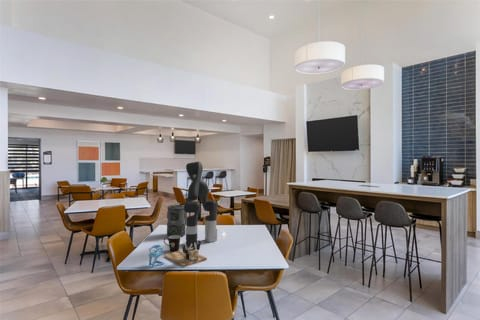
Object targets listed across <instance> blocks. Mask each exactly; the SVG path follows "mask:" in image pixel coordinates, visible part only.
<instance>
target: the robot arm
mask: <svg viewBox="0 0 480 320" xmlns="http://www.w3.org/2000/svg"><path fill="white" fill-rule="evenodd" d="M185 170H186V172H187V175H188V176H189V178H190V180H191V183H190V184H189V186H188V189H187V196H186V197H187V198H186V200H185V202H184V205H183V206H184V211H185V212H186V213H187V214H188V213H190V214H193V215H189V216H187V217H186V218H185V224H186V228H185V243H182V244H181V248H182V249H181V250H183V253H185V254H186V259H189V251H190V250H191V248H193V249H196V250H198V251H199V250H200V248H201V243H202V240H199V239H198V217H199V213H200V209H201V205H202V208H203V210H204V211H205V212H208V213H209V212H210V214H209V215H206V216H205V217H204V241H205V242H206V243H215V242H217V241H218V228H217V217H218V202H217V200H212V199H211V200H210V199H208V195H209V193H210V189H209V185H208V184H207V182H206V181H205V180H203V179H202V175H203V163H202V162H201V161H195V162H193V161H192V162H189V163H187V164H186V165H185ZM198 198H199V199H200V202H201V204H200V202H198V201H197V200H198Z"/></svg>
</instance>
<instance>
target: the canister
mask: <svg viewBox="0 0 480 320" xmlns="http://www.w3.org/2000/svg"><path fill="white" fill-rule="evenodd" d="M166 214H167V215H166V220H167V224H166V235H167V236H168V237H169V236H173V235H178V236H180V238H182V237H184V236H186V219H187V217H186V212H185V211H184V205H183V204H180V203H179V202H177V203H175V204H170V205H168V206H167V213H166Z"/></svg>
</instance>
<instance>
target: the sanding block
mask: <svg viewBox="0 0 480 320" xmlns="http://www.w3.org/2000/svg"><path fill="white" fill-rule="evenodd" d="M198 254H200V253H199V250H196V249H193V248H191V250H190V251H189V259H188V260H190V261H196V260H198ZM184 258H186V254H185V253H184Z"/></svg>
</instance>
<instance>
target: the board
mask: <svg viewBox="0 0 480 320" xmlns="http://www.w3.org/2000/svg"><path fill="white" fill-rule="evenodd" d="M163 255H164V257H165V258H166V259H168V260H169V259H170V260H169V261H170V262H173V263H175V264H176V265H179V266H180V267H182V268H185V267H188V266H192V265H195V264H199V263H202V262H205V261H208V257H206V256H204V255H202V254H200V253H198V260H196V261H190V260H188V259H186V258H184V253H183V249H181V250H179V251H176V252H169V253H166V254H163Z"/></svg>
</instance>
